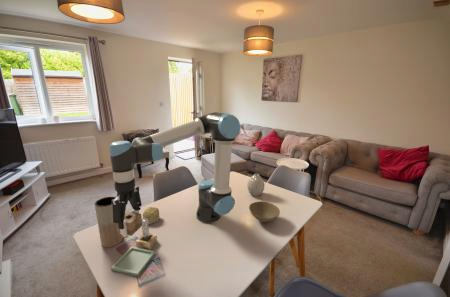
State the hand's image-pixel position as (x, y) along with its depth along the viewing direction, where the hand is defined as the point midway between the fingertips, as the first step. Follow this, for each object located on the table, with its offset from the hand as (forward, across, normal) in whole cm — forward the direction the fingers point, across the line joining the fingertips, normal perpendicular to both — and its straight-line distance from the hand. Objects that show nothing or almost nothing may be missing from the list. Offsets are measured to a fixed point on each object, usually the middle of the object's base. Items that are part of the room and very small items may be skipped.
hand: (130, 228), depth 87 cm
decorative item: (+17, -30, -11) cm, 36 cm away
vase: (+17, -79, +47) cm, 93 cm away
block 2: (+17, -11, -1) cm, 20 cm away
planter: (+17, -9, -20) cm, 28 cm away
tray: (+17, 0, 0) cm, 17 cm away
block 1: (0, 0, 0) cm, 0 cm away
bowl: (+17, -47, +55) cm, 74 cm away
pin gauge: (+17, -11, -1) cm, 20 cm away
